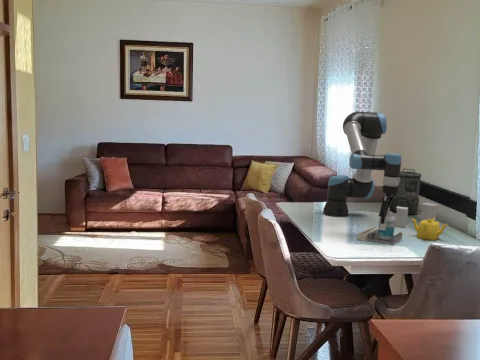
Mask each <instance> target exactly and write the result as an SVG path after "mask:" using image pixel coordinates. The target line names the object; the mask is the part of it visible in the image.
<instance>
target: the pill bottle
mask: <svg viewBox="0 0 480 360" xmlns="http://www.w3.org/2000/svg"><path fill="white" fill-rule="evenodd" d="M392 215H393V212H391V211H390V210H388V212H387V215H386V217H387V218H386V229H385V231H384V230H378V238H380V239H383V240H391V238H392V237H393V236H395V227H396V226H395V218H394V217H393V216H392ZM380 218H381V217H380V216H379V221H378V222H379V223H378V228H380Z"/></svg>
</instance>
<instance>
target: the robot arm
mask: <svg viewBox="0 0 480 360" xmlns="http://www.w3.org/2000/svg"><path fill="white" fill-rule="evenodd" d="M387 124H388V121H387V117H386V115H385V114H384V113H383V112H377V111H375V112H373V111H353V112H351V113H350V114H348V115H347V116H346V117H345V119H344V121H343V122H342V129H343V133H344V135H345V136H346V139H347V142H348V145H349V148H350V152H351V154H350V156H349V161H348V163H349V167H350V169H352V170H353V169H354V170H356V171H355V173H354V174H353V175H352V178H351V177H349V176H348V175H340V174H337V175H333V176H330V177H329V178H328V183H327V195H326V196H327V197H326V201H325V204H324V207H323V210H322V214H324V215H326V216H332V217H348V216H349V207H348V202H347V201H348V200H347V199H348V198H349V199H351V198H353V199H369V198H372V196H373V194H374V192H375V186H376V183H375V180H374V177H373V176H372V171H383V180H382V184H383V185H382V189H381V191H382V193H384V194H385V195H383V197H382V202H381V206H380V210H379V214H378V217H379V219H380V228H379V227H378V228H379V230H384V231H385V229H386V218H387V217H386V215H387V212H388V211H391V212H393V215H392V216H393V217H394V218H395V213H397V204H396V194H398V189H399V187H398V186H397V185H399V181H400V179H399V178H400V171H401V167H402V155H401V154H399V153H393V152H391V153H390V152H388V153H386V154H382V155H381V154H380V155H379V154H376V150H377V146H378V141H379V140H380V139H381V138H382V135H385V134H386V133H387V130H388V129H387V126H388V125H387ZM380 217H381V218H380Z"/></svg>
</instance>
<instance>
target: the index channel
mask: <svg viewBox="0 0 480 360" xmlns="http://www.w3.org/2000/svg"><path fill="white" fill-rule="evenodd" d="M378 230H379V229H377V230H375V231H373V232H371V233H370V235H369V239H368V241H370V242H375V243H380V244H386V245H392V246H394V245H395V244H397V243H399V242H400V241H402V239H403V232H398V233H397V234H394V236H393V237H392V238H391V240H383V239H380V238H378Z"/></svg>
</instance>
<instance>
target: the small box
mask: <svg viewBox="0 0 480 360" xmlns="http://www.w3.org/2000/svg"><path fill="white" fill-rule="evenodd" d="M408 215H409V214H408V208H407V207H398V206H397V213H395V227H397V228H398V227H399V228H407V225H408V224H407V223H408Z"/></svg>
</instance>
